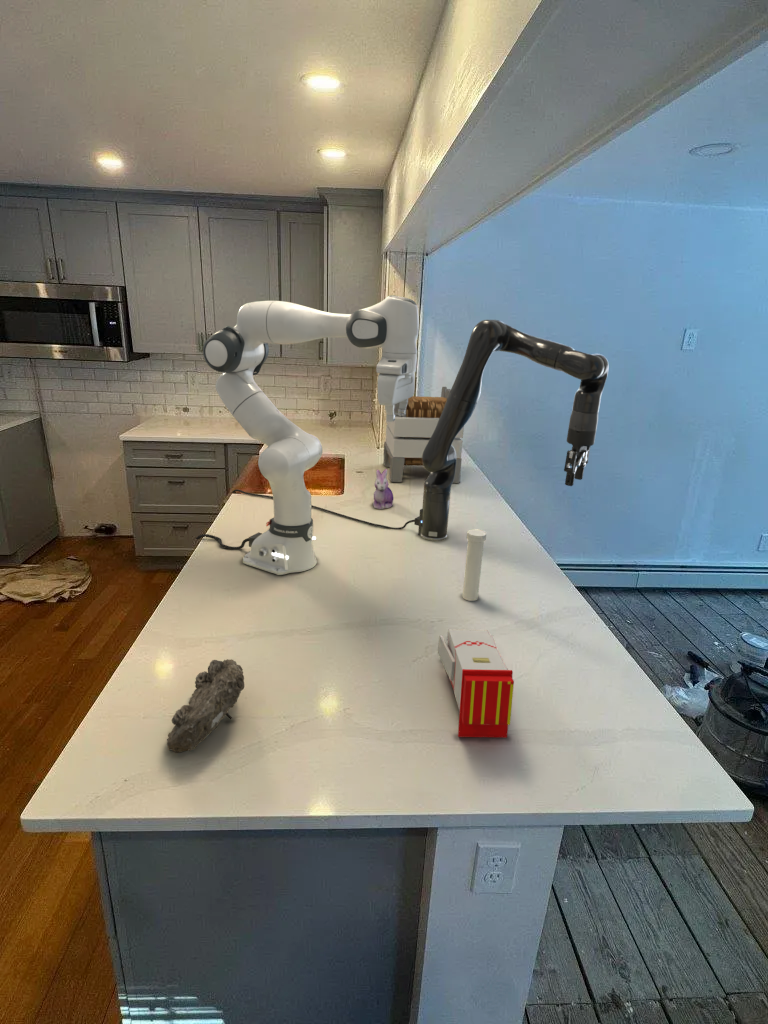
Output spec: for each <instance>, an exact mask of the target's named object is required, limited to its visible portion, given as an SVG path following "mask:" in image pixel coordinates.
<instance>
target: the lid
mask: <svg viewBox="0 0 768 1024" xmlns="http://www.w3.org/2000/svg"><path fill="white" fill-rule="evenodd" d="M466 539H467V541H468V540H469V541H472V542H484V543H485V541H486V540H487V531H485V530H483V529H478V528H472V529H468V530H467V532H466Z"/></svg>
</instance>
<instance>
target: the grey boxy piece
mask: <svg viewBox="0 0 768 1024" xmlns="http://www.w3.org/2000/svg"><path fill="white" fill-rule="evenodd" d="M450 391H451V388H447V386H442V387H441V392H440V393H441V394H440V396H415V395H413V397H410V398H408V404H407V407H406V414H405V415H404V416H399V415H398V409H399V404H400V402H399V403H397V404H395V408H394V414H395V420H394V421H393V422H388V421H387V420H386V419H387V414H386V413H385V414H386V415H385V423H386V428H385V438H384V442H383V466H384V467H388V468H389V475H388V476H389V477H388V478H389V480H390V482H391V483H402V482H403V475H404V469H405V466H406V467H407V466H411V467H412V466H413V467H415V466H416V467H417V466H418V467H424V466H423V464H422V454H423V451H424V449H425V447H426V445H427V444H428V442H429V440H430V438H431V436H432V434H433V432H434V430H435V428H436V426H437V423H438V421H439V418H440V416H441V413H442V411H443V408H444V406H445V403H446V400H447V398H448V395H449V393H450ZM464 429H465V425H464V426H463V428H462V429H461V430H460V431H459V433H458V434H457V435H456V437H455V438H454V440H453V442H452V444H451V445H452V446H453V447H454V449H455V451H456V468H455V476H454V481H453V483H452V484H455V483H456V484H459V483H461V472H462V461H463V460H462V453H463V442H464V441H463V440H462V439H463V438H464V431H465V430H464Z"/></svg>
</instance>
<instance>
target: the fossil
mask: <svg viewBox="0 0 768 1024" xmlns="http://www.w3.org/2000/svg"><path fill="white" fill-rule="evenodd" d="M243 670H244V669H243V667H242V665H240V664H237V662H236V661H235V660H234V659H232V658H231V659H227V658H226V659H224V660H223V661H222V660H217V659H212V660H211V661H210V663H209V665H208V666H207V671H201V672H199V673H198V674H197V675H196V676H195V680H194V684H195V685H194V687H195V689H194V690H193V693H192V694H191V697H190V698H189V700H188V704H184V705H182V706H181V707H180V709H177V710H176V711H175V713H174V715H173V716H172V718H171V723H172V724H173V727H172V730H171V731H170V732H168V734H167V738H166V741H167V742H166V745H167V749H168V750H169V751H173V752H174V753H176V754H178V753H182V752H188V751H189V752H192V751H193V750H195V748H196V747H197V746H199V744H200V743H201V742H203V741H204V740H205V739H206V738H207V737H208V736H209V735H210V734H211V733H212V732H214V730H215V729H217V727H218V726H219V724H220V722H221V721H222V720H223V719H224V718H225V716H226V717H227V719H229V720H233V717H232V715H230V714H229V710H230V709H231V708H234V706H235V704H236V703H237V702H238V699H239V697H240V695H241V693H242V691H243V690H245V689H244V688H245V675H244V671H243Z"/></svg>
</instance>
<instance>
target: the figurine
mask: <svg viewBox="0 0 768 1024" xmlns="http://www.w3.org/2000/svg"><path fill="white" fill-rule="evenodd" d="M375 474H376V476H375V477H376V479H375V481H374V483H373V484H374V488H375V490H374V492H373V502H372V506H373V508H374V509H378V510H384V509H389V508H392V507H393V504H394V494H393V493H394V492H393V490H392V489H391V488H390V487H389V481H388V479H387V475H388V468H384V470H383V471H382V472H381V471H380V469H376V472H375Z"/></svg>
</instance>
